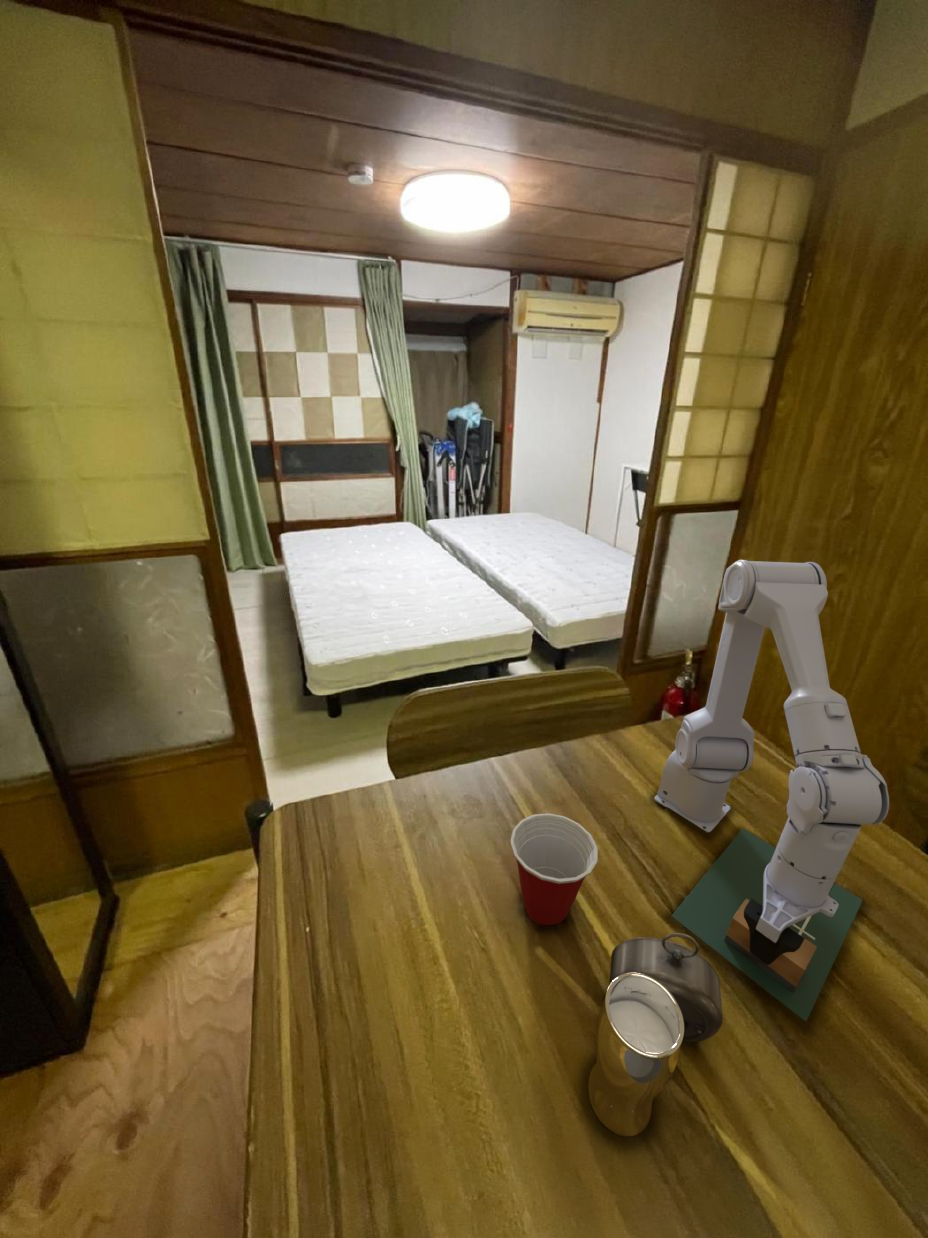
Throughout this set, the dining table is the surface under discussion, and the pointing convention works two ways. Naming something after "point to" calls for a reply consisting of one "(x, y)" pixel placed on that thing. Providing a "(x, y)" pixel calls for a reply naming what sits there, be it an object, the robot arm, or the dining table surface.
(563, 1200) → the dining table surface
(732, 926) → the eraser
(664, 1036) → the beer glass
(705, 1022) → the alarm clock
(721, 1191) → the dining table surface
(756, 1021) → the dining table surface
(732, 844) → the chalkboard
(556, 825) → the plastic cup
